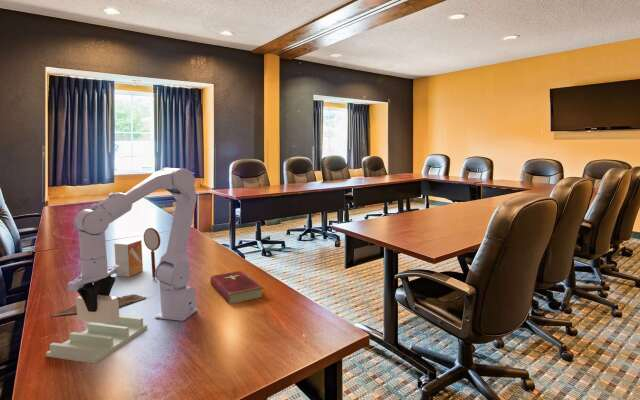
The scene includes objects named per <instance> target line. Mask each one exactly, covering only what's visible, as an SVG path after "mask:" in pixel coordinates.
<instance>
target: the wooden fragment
mask: <svg viewBox="0 0 640 400" xmlns="http://www.w3.org/2000/svg"><path fill="white" fill-rule="evenodd" d="M117 297H118V296H117ZM143 299H147V298H146V297H145V296H142V295H139V294H129V295H127V294H126V295H123V296H120V297H118V304H119V308H120V307H123V306H126V305H129V304H131V303H135V302H138V301H141V300H143ZM72 314H74V315H75V314H77V306H76V305H73V306H71V307H69V308H65V310H62V311H59V312H57V313H55V314H53V315H52V317H56V316H63V315H72Z"/></svg>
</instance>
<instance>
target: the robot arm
mask: <svg viewBox="0 0 640 400" xmlns="http://www.w3.org/2000/svg"><path fill="white" fill-rule="evenodd" d="M195 184H196V178H195V176H194V175H193V173H192V172H191V170H189V169H187V168H173V167H166V166H165V167H163V168H161V169H160V170H157V171H155V172H154V173H152V174H151V175H150V176H149V177H147V178H146V179H144V180H142V181H141V182H140V183H138V184H136V185H135V186H133V187H132V188H131V189H128V191H126V192H124V193H123V192H110V193H109V194H107V196H108V197H106V198H105V199H104V200H102V201H100V202H98V203H97V204H96V203H93V204H91V205H90V206H91V208H86V209H82V210H80V211H79V212H78V213H77V214H76V216H75V217H74V220H73V222H72V224H73V226H74V228H75V229H76V230H77V231H78V245H79V255H80V267H81V268H80V269H81V272H80V273H79V276H77V277H76V278H75V279H73V280H72V281H69V282H67V291H68V292H76V293H78V294H79V296H81V297H82V299H83V300H84V302H85V305H86V307H87V310H88V311H89V312H96V311H97V296H98V295H104V296H111V292H112V289H113V287H114V284H115V283H116V276H112V275H114V274H117V273H119V272H120V270H119V266H117V265H116V264H115V265H113V264H112V265H110V266H108V255H107V243H106V242H107V241H106V240H107V239H106V230H108V227H109V225H110V224H111V223H113V222H115V221H116V220H118V219H119V218H121V217H122V216H124V215H125V214H127V213H128V212H130V211H131V210H132V208H133V205H134V203H137V202H138V201H140V200H142V199H143V198H145V197H147V196H149V195H150V194H153V193H154V192H155V191H157V190H166V191H167V192H168V193H170V194H171V196H172V197H173V198H174V200H175V201H176V204H175V208H174V214H173V218H172V223H171V226H170V227H171V228H170V233H169V239H168V244H167V248H166V251H165V253H164V254H163V255H161V257H160V261H159V263H158V264H157V266H155V279H156V280H157V281H159V292H160V308H161V309H160V310H161V311H160V312H159V313H158V314H156V315H155V316H154V318H155V319H161V320H170V321H180V322H182V321H185V320H187V319H188V318H190V317H191V316H192V315H193V314H194V313H196V312H197V311H198V308H197V305H196V291H195V289H194V287H192V286H189V285H187V284H188V282H189V281H190V278H191V273H190V272H191V271H190V265H191V264H190V261H189V259H188V258H187V257H188V256H186V254H187V251H188V250H187V249H188V243H189V239H190V235H191V230H192V229H191V228H192V225H193V218H194V214H195V209H196V203H197V192H196V188H195Z"/></svg>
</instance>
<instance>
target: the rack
mask: <svg viewBox="0 0 640 400" xmlns="http://www.w3.org/2000/svg"><path fill="white" fill-rule="evenodd" d="M119 318H120V319H119V320H117V321H116V322H114V323H112V324H105V323H97V322H88V323H87V329H85V330H84V331H81V332H78V331H77V332H76V331H72V332H70V333H69V339H67V340H66V341H63V342H62V343H60V342H51V343H50V344H49V350H47V351H46V352H45V356H46V357H47V358H48V357H49V358H55V359H61V360H67V361H74V362H75V361H76V362H82V363H88V364H97V363H99V362H101V360H102V359H104V358H106V357H107V356H109V355H110V354H112V353H113V352H114V351H116V350H117V349H120V348H121V347H122V346H123V345H125V344H126V343H128V342H130V340H132V339H134V338H135V337H136V336H138V335H139V334H141V333H143V332H144V331H145V330H147V329H148V324H146V323H145V324H144V317H138V316H128V315H121V314H119Z"/></svg>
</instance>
